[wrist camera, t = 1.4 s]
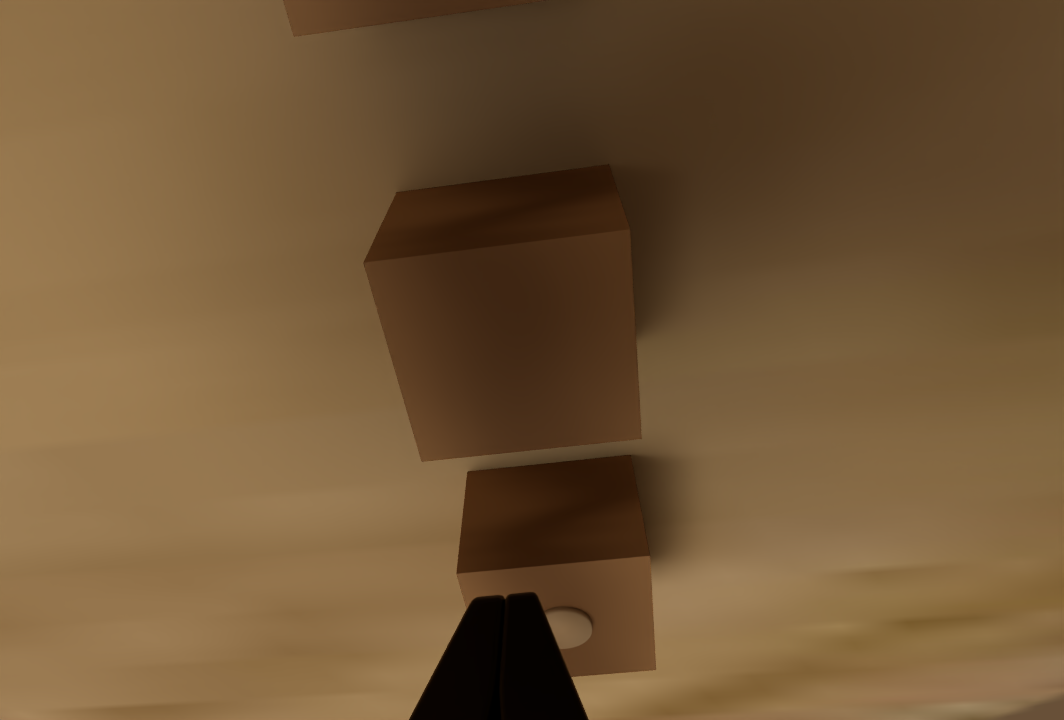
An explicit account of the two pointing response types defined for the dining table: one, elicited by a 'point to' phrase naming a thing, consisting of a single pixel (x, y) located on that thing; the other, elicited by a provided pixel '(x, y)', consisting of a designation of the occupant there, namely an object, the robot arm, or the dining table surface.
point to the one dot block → (566, 556)
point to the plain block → (510, 313)
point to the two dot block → (375, 12)
